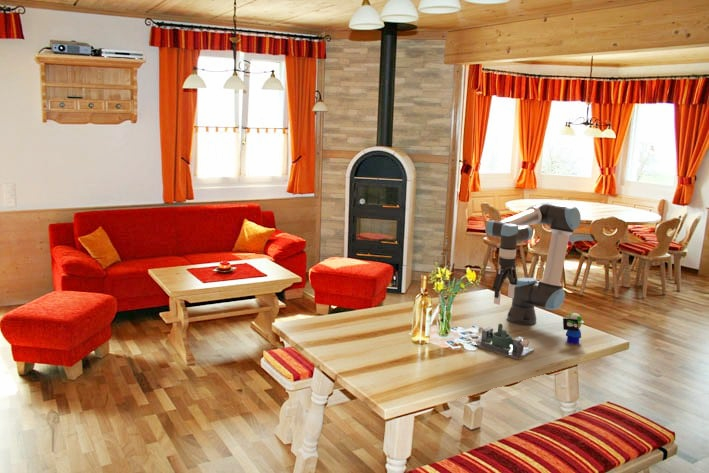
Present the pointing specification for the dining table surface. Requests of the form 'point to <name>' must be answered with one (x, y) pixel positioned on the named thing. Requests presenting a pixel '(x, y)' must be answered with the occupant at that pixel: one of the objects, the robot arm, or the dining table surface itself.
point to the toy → (573, 327)
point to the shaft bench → (514, 351)
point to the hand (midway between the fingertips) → (503, 300)
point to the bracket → (501, 338)
